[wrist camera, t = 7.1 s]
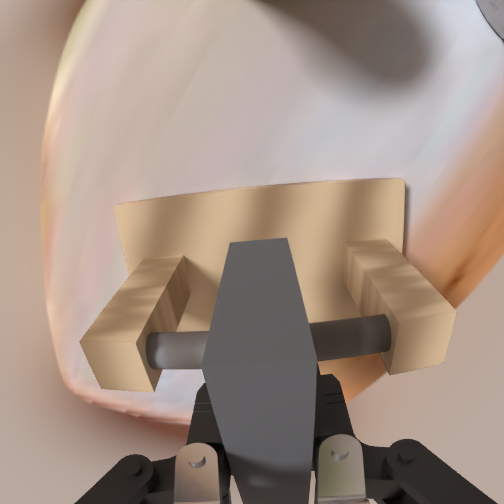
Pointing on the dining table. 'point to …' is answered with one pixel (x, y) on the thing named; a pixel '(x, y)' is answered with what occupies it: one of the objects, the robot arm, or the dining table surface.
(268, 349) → the rubber u
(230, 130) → the dining table surface
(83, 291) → the dining table surface
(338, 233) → the bar rack
